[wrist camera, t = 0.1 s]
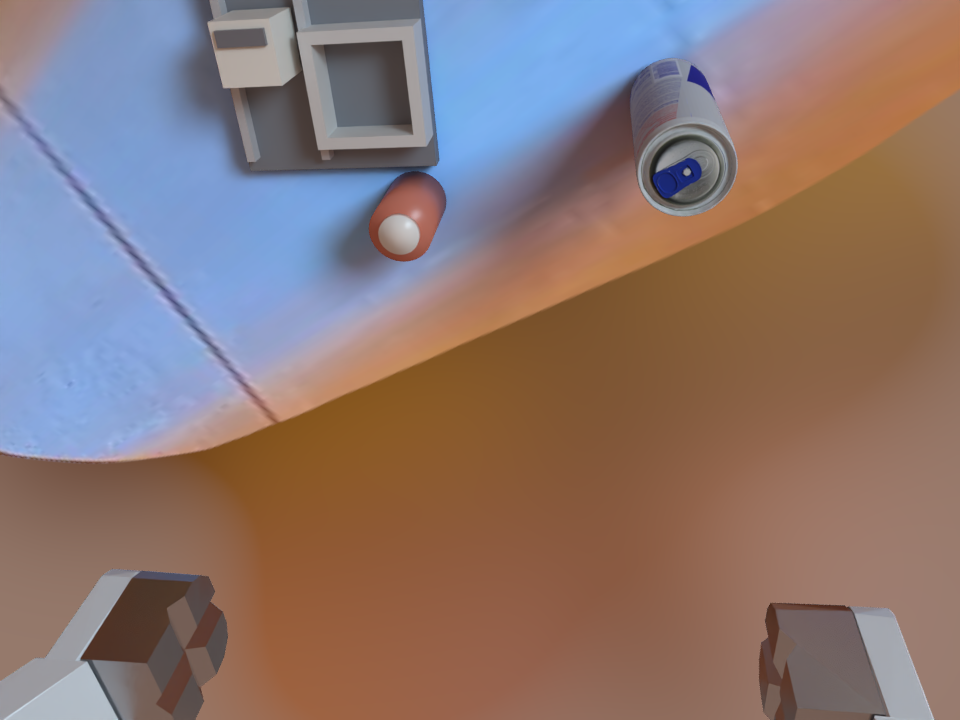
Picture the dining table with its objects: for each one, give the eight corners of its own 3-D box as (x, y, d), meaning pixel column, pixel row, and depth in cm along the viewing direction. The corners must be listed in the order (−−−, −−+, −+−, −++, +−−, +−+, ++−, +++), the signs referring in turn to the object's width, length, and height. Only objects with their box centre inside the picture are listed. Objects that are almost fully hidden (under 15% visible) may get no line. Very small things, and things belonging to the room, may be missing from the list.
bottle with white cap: (384, 171, 59) (362, 206, 53) (443, 170, 58) (426, 204, 53) (392, 227, 61) (371, 265, 56) (448, 226, 61) (433, 264, 55)
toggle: (232, 10, 53) (205, 22, 49) (290, 7, 52) (267, 19, 48) (246, 73, 55) (221, 89, 51) (302, 70, 54) (280, 86, 51)
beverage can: (651, 146, 55) (665, 235, 43) (615, 82, 53) (618, 156, 41) (720, 106, 53) (755, 188, 41) (685, 38, 51) (711, 103, 39)
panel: (183, -150, 49) (155, -149, 46) (404, -170, 47) (390, -171, 44) (256, 165, 60) (237, 183, 57) (439, 159, 58) (430, 178, 55)
